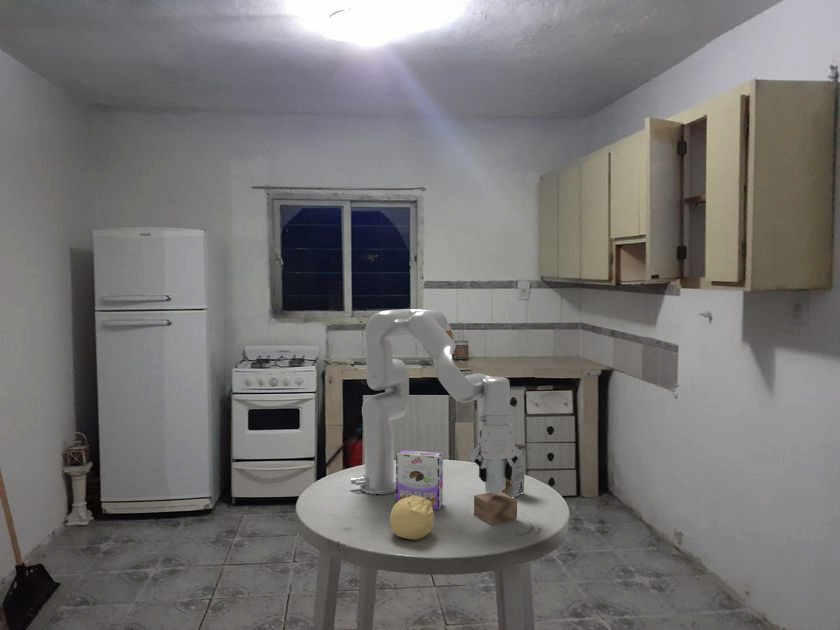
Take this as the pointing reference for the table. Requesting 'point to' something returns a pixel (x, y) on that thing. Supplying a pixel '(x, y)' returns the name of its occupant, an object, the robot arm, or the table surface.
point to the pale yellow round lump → (412, 517)
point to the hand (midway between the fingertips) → (495, 479)
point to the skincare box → (495, 475)
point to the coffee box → (516, 475)
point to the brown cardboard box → (495, 507)
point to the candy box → (420, 476)
